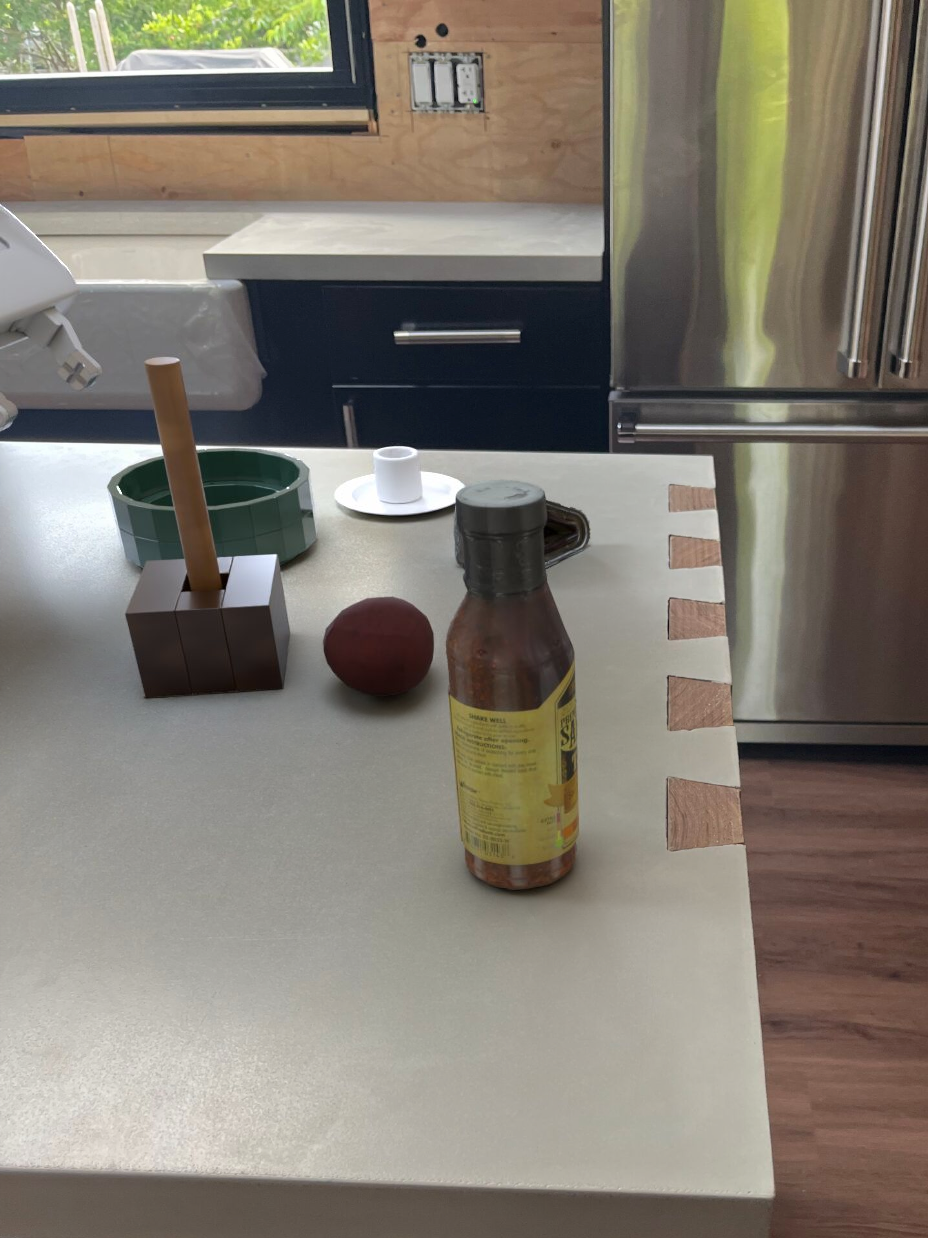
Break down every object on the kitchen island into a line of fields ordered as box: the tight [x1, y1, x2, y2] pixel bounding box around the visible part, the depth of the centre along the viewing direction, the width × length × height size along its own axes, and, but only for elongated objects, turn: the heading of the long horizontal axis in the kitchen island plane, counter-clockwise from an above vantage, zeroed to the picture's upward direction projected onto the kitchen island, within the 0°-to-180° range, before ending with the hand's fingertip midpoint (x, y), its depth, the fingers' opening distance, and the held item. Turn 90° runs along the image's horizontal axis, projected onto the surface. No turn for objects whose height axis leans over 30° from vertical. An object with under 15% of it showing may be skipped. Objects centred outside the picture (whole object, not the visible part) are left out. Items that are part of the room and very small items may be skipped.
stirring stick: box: [143, 356, 223, 592], centre depth 76 cm, size 2×2×20 cm
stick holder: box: [124, 554, 291, 699], centre depth 80 cm, size 9×9×6 cm
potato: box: [322, 596, 435, 697], centre depth 77 cm, size 7×8×6 cm
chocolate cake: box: [453, 499, 591, 569], centre depth 97 cm, size 10×7×12 cm
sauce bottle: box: [445, 479, 580, 891], centre depth 58 cm, size 6×6×20 cm
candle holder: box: [334, 445, 466, 516], centre depth 108 cm, size 12×12×4 cm
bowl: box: [106, 447, 318, 569], centre depth 97 cm, size 16×16×6 cm
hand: (52, 402), depth 72 cm, fingers open, 8 cm apart
